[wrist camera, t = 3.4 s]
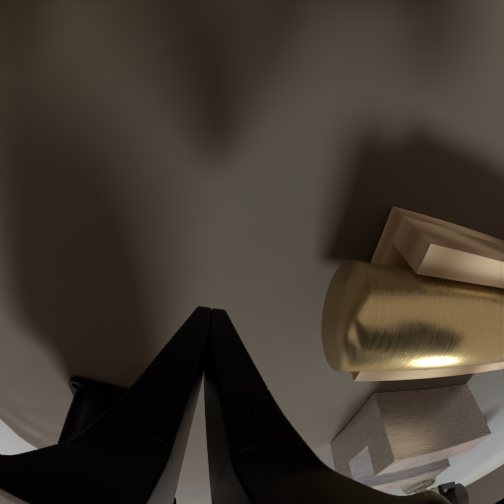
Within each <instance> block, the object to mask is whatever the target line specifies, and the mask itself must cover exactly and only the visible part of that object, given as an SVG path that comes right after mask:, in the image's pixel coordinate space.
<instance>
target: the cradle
mask: <svg viewBox="0 0 504 504" xmlns="http://www.w3.org/2000/svg"><path fill="white" fill-rule="evenodd" d="M490 434H491V432H490V430H489V428H488V425H487V423H486V421H485V419H484V417H483V415H482V413H481V411H480V409H479V407H478V405H477V403H476V401H475V399H474V397H473V395H472V393H471V391H470V389H469V387H468V385H467V384H461V385H454V386H447V387H439V388H430V389H420V390H409V391H396V392H380V393H373V394H372V395H371V397H370V398H369V399H368V400H367V402H366V403H365V404H364V405H363V407H362V408H361V409H360V410H359V411H358V413H357V414H356V415H355V416H354V417H353V419H352V420H351V421H350V422H349V423H348V424H347V426H346V427H345V428H344V429H343V430H342V431H341V432H340V434H339V435H338V436H337V437H336V438H335V439H334V440H333V441H332V442H331V443H330V445H331V451H332V456H333V461H334V466H335V471H336V472H338V473H340V474H342V475H344V476H346V477H349V478H351V479H353V480H355V481H358V482H360V483H362V484H365V485H367V486H369V487H372V488H374V489H377V490H379V491H386V490H390V489H394V488H398V487H402V486H406V485H410V484H413V483H417V482H420V481H424V480H427V479H430V478H433V477H435V476H437V475H438V474H440V473H441V472H443V471H444V470H445V469H447V468H448V467H450V464H449V461H448V458H449V457H452V456H455V455H458V454H461V453H464V452H467V451H470V450H472V449H473V448H475V447H476V446H477V445H478V444H479V443H481V442H482V441H483V440H484V439H485V438H487V437H488V436H489V435H490Z"/></svg>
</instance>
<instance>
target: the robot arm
mask: <svg viewBox="0 0 504 504" xmlns="http://www.w3.org/2000/svg"><path fill="white" fill-rule="evenodd" d="M203 373H204V399H205V419H206V436H207V451H208V464H209V477H210V489H211V499H212V504H451V503H450V501H448V500H447V499H446V498H445V497H444V496H442V495H440V494H438V493H436V492H434V491H432V490H426V491H422V492H419V493H416V494H412V495H407V496H397V495H391V494H388V493H384V492H382V491H379V490H377V489H374V488H372V487H369V486H367V485H365V484H362V483H360V482H358V481H355V480H353V479H351V478H349V477H346V476H344V475H342V474H340V473H338V472H336V471H334V470H332V469H331V468H329V467H328V466H327V465H325V464H324V463H323V462H322V461H321V460H320V459H319V458H318V457H317V456H316V454H315V453H314V452H313V451H312V450H311V448H310V447H309V446H308V445H307V443H306V442H305V441H304V440H303V439H302V437H301V436H300V435H299V434H298V432H297V431H296V430H295V429H294V427H293V426H292V425H291V423H290V422H289V421H288V419H287V418H286V417H285V415H284V414H283V412H282V411H281V409H280V408H279V406H278V405H277V403H276V401H275V400H274V398H273V396H272V394H271V393H270V391H269V390H267V389H268V388H267V386H266V384H265V382H264V381H263V379H262V377H261V375H260V373H259V372H258V370H257V368H256V366H255V364H254V363H253V361H252V359H251V357H250V355H249V353H248V352H247V350H246V348H245V346H244V344H243V342H242V340H241V339H240V337H239V335H238V333H237V331H236V329H235V327H234V325H233V324H232V322H231V320H230V318H229V316H228V314H227V312H226V311H225V310H223V309H216V308H213V309H212V310H211V308H209V307H202V306H198V307H197V308H196V309H195V310H194V312H193V313H192V314H191V315H190V316H189V318H188V319H187V320H186V321H185V322H184V324H183V325H182V326H181V327H180V328H179V330H178V331H177V332H176V333H175V335H174V336H173V337H172V338H171V339H170V341H169V342H168V343H167V344H166V345H165V347H164V348H163V349H162V350H161V351H160V353H159V354H158V355H157V356H156V357H155V359H154V360H153V361H152V362H151V364H150V365H149V366H148V367H147V368H146V370H145V371H144V372H143V374H141V376H140V377H139V378H138V379H137V380H136V382H135V383H134V384H133V385H132V386H131V387H130V388H129V389H128V390H124V389H120V388H116V387H111V386H107V385H103V384H99V383H95V382H91V381H88V380H84V379H80V378H77V377H71V378H70V380H69V382H68V383H69V386H70V389H71V391H72V393H73V396H74V397H73V400H72V403H71V406H70V408H69V411H68V414H67V417H66V420H65V423H64V426H63V429H62V432H61V435H60V438H59V441H58V444H55V445H52V446H48V447H45V448H41V449H37V450H33V451H30V452H25V453H21V454H16V455H1V454H0V504H176V498H175V493H176V489H177V484H178V480H179V475H180V471H181V467H182V462H183V458H184V454H185V450H186V445H187V441H188V437H189V433H190V428H191V424H192V420H193V416H194V412H195V408H196V404H197V399H198V395H199V391H200V387H201V383H202V378H203ZM494 504H504V498H502V499H501V500H499V501H497V502H495V503H494Z"/></svg>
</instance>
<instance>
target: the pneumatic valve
mask: <svg viewBox="0 0 504 504" xmlns="http://www.w3.org/2000/svg"><path fill="white" fill-rule="evenodd" d="M435 478H436V476H435V477H433V478H430V479H427V480H424V481H420V482H417V483H413V484H410V485H406V486H402V487H401V490H402V491H403V492H404V493H405V494H410V493H413V492H414V493H417V492H418V493H419V492H422V491H426V490H427V489H425V488H427V487H429V486H431V485H433V484H434V482H436V479H435ZM431 490H432V491H434V492H436V493H438V494H440V495H442V496H444V497H445V498H446V499H447V500H448V501H450V503H451V504H468V502H469V499H468V493H467V491H466V489H465V487H464V486H463V485H462V484H460V483H458V484H456V485H455V482H450V483H445V484H441V485H439V486H437V487H436V488H431Z"/></svg>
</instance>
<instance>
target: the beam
mask: <svg viewBox="0 0 504 504" xmlns="http://www.w3.org/2000/svg"><path fill="white" fill-rule="evenodd" d="M370 263H374V264H380V265H386V266H392V267H398V268H404V269H410V270H414V271H415V273H416V274H419V275H426V276H432V277H438V278H444V279H450V280H456V281H462V282H468V283H474V284H481V285H487V286H493V287H499V288H504V240H501V239H498V238H495V237H493V236H490V235H487V234H484V233H481V232H478V231H475V230H472V229H469V228H466V227H462V226H459V225H456V224H453V223H450V222H446V221H443V220H440V219H437V218H433V217H430V216H426V215H423V214H419V213H416V212H412V211H409V210H405V209H401V208H398V207H394V206H392V209H391V212H390V215H389V217H388V220H387V223H386V225H385V228H384V230H383V233H382V235H381V238H380V241H379V243H378V245H377V248H376V250H375V253H374V255H373V258H372V260H371V262H370ZM498 369H504V362H499V363H492V364H484V365H476V366H467V367H456V368H444V369H430V370H412V371H378V372H351V373H352V377H353V380H354V381H388V380H408V379H423V378H435V377H445V376H455V375H463V374H471V373H479V372H485V371H492V370H498Z"/></svg>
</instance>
